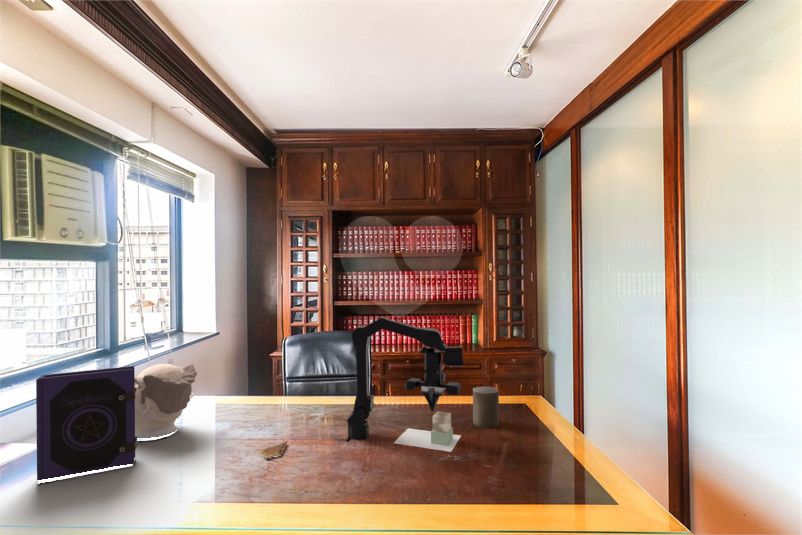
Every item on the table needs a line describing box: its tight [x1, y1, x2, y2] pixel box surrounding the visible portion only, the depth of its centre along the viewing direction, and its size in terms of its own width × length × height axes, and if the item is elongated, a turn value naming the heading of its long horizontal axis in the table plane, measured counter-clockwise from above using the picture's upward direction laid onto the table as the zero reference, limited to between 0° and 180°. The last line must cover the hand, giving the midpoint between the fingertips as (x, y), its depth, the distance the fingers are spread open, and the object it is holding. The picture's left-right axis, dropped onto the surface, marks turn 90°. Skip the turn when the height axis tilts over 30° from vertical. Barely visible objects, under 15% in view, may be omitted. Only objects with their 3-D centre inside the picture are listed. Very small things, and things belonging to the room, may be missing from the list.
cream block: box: [432, 411, 452, 433], centre depth 143 cm, size 5×5×5 cm
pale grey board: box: [393, 427, 462, 453], centre depth 145 cm, size 20×14×1 cm
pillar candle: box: [472, 386, 500, 429], centre depth 160 cm, size 10×10×15 cm
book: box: [35, 365, 138, 481], centre depth 127 cm, size 24×6×30 cm, turn 117°
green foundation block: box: [431, 426, 454, 446], centre depth 143 cm, size 6×6×4 cm
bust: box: [135, 363, 198, 438], centre depth 156 cm, size 26×20×30 cm
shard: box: [257, 441, 288, 458], centre depth 138 cm, size 11×8×2 cm
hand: (432, 410), depth 146 cm, fingers closed
